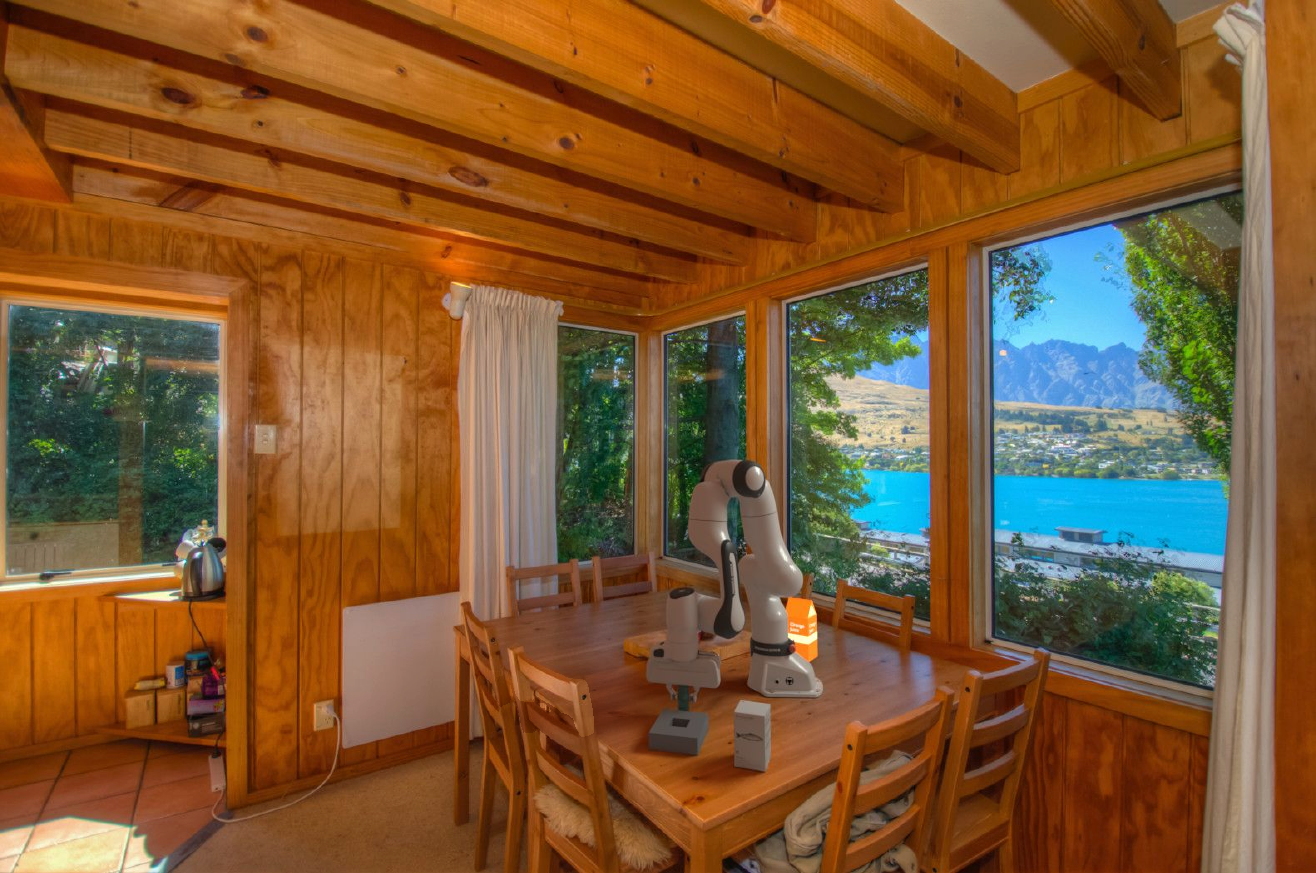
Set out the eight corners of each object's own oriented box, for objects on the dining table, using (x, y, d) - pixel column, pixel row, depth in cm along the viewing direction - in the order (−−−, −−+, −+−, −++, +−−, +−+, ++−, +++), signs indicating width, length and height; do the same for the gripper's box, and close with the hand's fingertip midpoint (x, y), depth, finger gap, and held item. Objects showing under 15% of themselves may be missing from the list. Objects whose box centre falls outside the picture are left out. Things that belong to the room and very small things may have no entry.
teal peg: (690, 713, 166) (689, 677, 166) (687, 718, 163) (687, 681, 163) (679, 712, 167) (679, 676, 167) (676, 717, 164) (676, 680, 164)
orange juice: (808, 662, 204) (807, 602, 205) (784, 657, 210) (783, 599, 210) (817, 655, 210) (816, 597, 211) (794, 651, 216) (793, 594, 216)
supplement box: (733, 767, 138) (732, 711, 138) (740, 752, 145) (740, 698, 145) (765, 773, 135) (764, 715, 135) (772, 757, 142) (771, 702, 142)
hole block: (708, 728, 157) (708, 713, 157) (697, 755, 143) (697, 738, 143) (663, 723, 160) (663, 708, 160) (648, 749, 146) (648, 732, 147)
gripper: (722, 648, 165) (723, 699, 165) (650, 642, 171) (651, 692, 170) (718, 655, 159) (719, 708, 159) (643, 650, 165) (644, 701, 164)
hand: (683, 700), depth 165 cm, fingers open, 4 cm apart
